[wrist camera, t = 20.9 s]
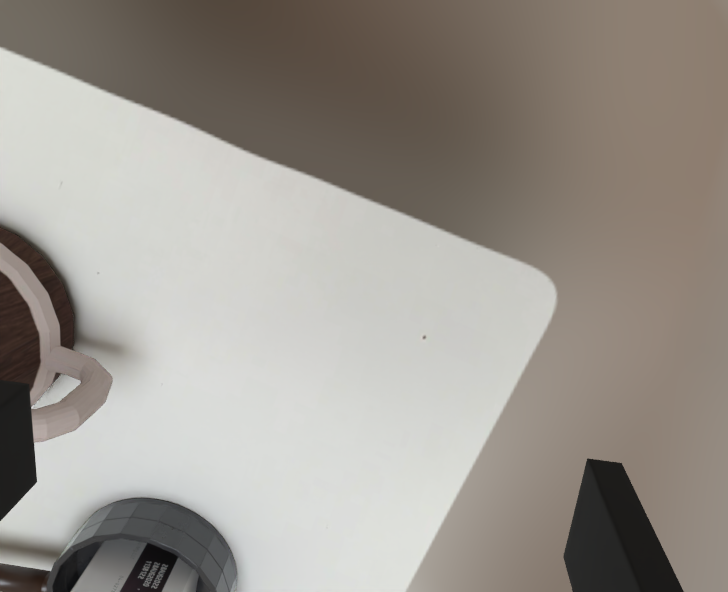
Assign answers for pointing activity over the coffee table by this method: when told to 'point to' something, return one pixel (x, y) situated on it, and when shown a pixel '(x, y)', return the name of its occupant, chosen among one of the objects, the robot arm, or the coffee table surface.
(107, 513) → the pan
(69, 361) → the mug
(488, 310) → the coffee table surface
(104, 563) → the container
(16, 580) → the pan handle
